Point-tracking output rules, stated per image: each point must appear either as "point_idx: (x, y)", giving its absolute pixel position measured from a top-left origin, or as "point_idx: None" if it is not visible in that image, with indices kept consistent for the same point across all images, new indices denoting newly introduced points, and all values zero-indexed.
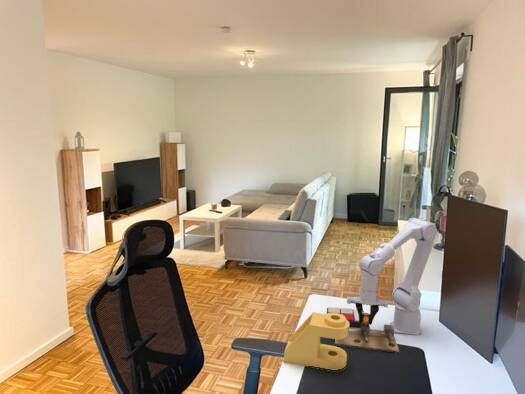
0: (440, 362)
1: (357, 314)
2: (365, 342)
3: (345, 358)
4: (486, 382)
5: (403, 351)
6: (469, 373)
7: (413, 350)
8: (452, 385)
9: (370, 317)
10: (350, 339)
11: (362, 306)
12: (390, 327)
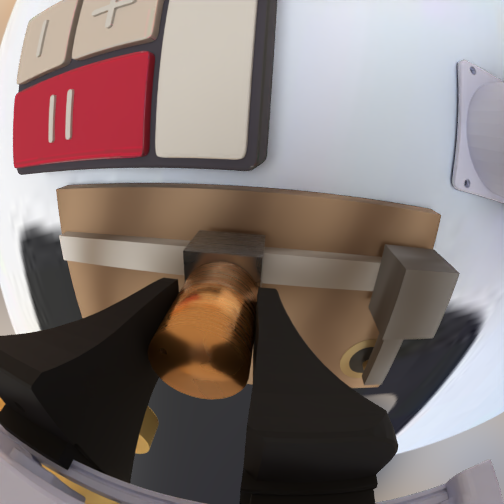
0: (474, 379)
1: (192, 36)
2: None
3: (147, 451)
4: (494, 408)
5: (404, 356)
6: (494, 395)
7: (448, 340)
8: (423, 441)
9: (253, 371)
10: None
11: (109, 469)
12: (427, 309)
